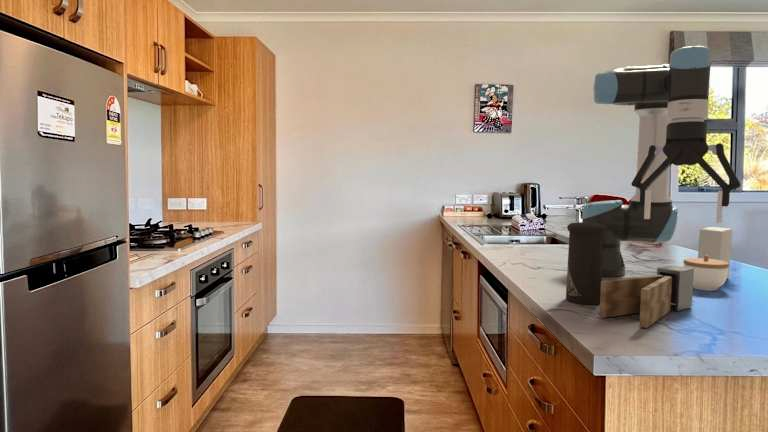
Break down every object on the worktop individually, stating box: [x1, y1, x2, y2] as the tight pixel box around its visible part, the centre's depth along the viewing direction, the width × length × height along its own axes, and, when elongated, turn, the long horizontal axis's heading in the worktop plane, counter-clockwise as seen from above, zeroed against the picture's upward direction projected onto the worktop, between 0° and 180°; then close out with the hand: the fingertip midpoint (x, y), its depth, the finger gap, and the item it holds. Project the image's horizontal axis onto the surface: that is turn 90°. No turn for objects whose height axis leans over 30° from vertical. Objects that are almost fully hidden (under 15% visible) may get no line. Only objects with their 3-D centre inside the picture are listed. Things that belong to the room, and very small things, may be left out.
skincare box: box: [697, 226, 733, 280], centre depth 154 cm, size 8×7×16 cm
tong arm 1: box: [599, 274, 664, 319], centre depth 115 cm, size 18×1×8 cm, turn 113°
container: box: [565, 221, 606, 306], centre depth 126 cm, size 9×9×20 cm
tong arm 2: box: [638, 276, 672, 329], centre depth 111 cm, size 18×1×8 cm, turn 137°
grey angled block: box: [656, 264, 694, 312], centre depth 121 cm, size 7×5×9 cm
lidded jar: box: [683, 255, 729, 292], centre depth 141 cm, size 11×11×9 cm
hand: (681, 220), depth 110 cm, fingers open, 13 cm apart
